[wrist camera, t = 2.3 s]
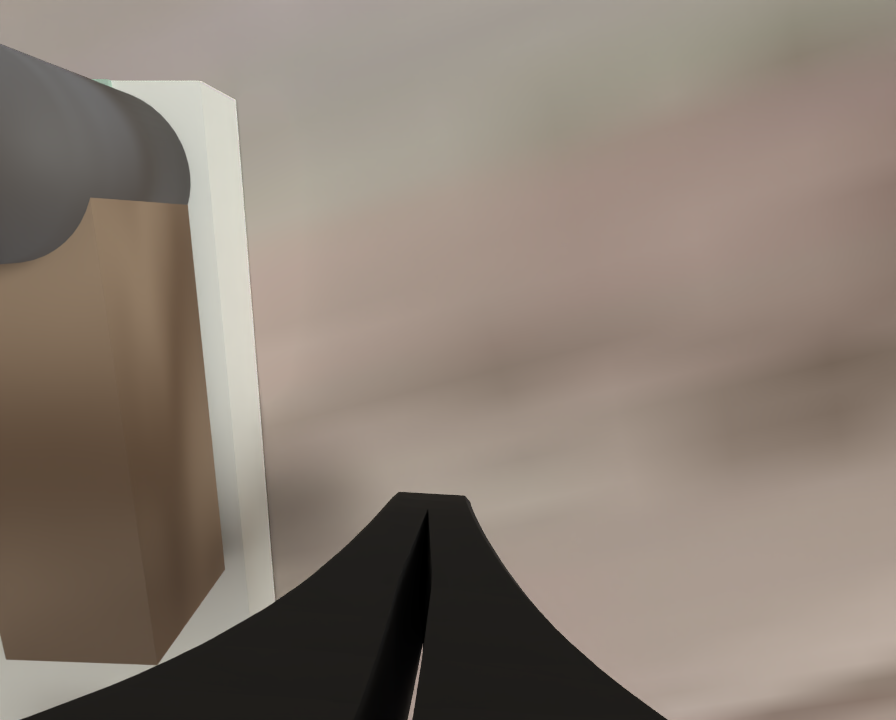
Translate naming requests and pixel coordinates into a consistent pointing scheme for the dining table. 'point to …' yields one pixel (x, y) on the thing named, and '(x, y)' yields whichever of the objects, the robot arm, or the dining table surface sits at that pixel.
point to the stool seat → (228, 390)
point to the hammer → (98, 377)
